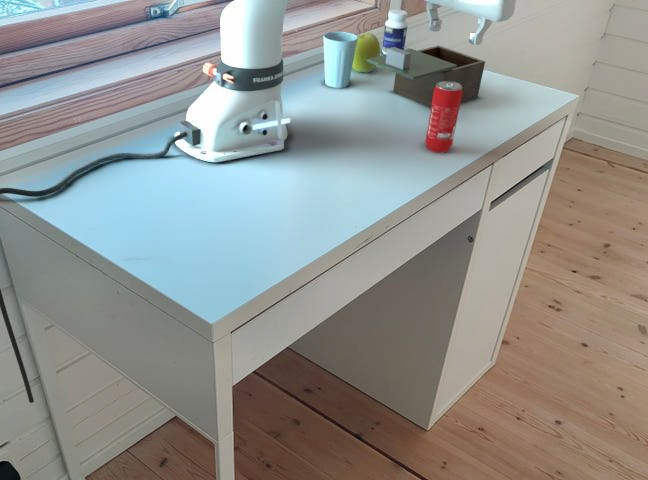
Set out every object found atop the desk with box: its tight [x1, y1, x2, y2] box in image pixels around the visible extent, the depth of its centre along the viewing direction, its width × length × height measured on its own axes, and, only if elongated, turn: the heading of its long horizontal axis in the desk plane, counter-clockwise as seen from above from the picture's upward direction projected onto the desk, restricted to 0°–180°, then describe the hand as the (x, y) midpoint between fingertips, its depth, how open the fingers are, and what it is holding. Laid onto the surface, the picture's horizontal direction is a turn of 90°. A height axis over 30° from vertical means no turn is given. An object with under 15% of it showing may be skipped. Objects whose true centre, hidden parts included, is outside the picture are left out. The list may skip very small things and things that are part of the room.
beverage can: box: [425, 81, 463, 154], centre depth 129 cm, size 5×5×12 cm
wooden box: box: [392, 45, 486, 108], centre depth 153 cm, size 14×14×8 cm
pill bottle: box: [381, 9, 408, 55], centre depth 175 cm, size 6×6×10 cm
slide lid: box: [367, 47, 457, 80], centre depth 144 cm, size 14×14×4 cm
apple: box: [352, 28, 381, 74], centre depth 164 cm, size 8×8×10 cm
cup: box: [323, 31, 358, 89], centre depth 155 cm, size 8×8×10 cm
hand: (454, 37), depth 121 cm, fingers open, 8 cm apart
